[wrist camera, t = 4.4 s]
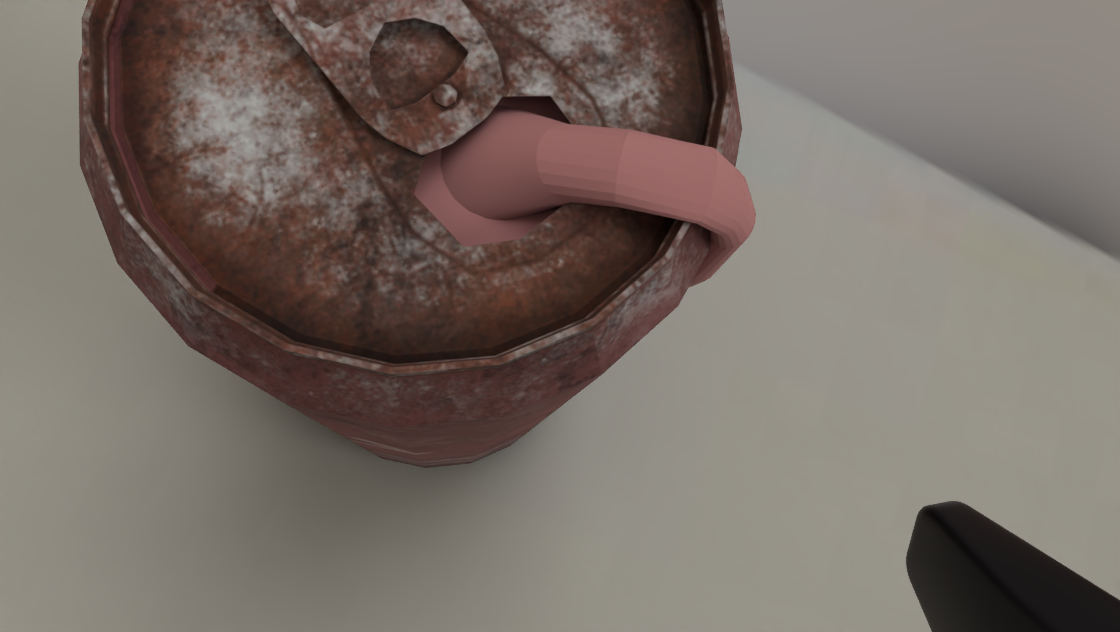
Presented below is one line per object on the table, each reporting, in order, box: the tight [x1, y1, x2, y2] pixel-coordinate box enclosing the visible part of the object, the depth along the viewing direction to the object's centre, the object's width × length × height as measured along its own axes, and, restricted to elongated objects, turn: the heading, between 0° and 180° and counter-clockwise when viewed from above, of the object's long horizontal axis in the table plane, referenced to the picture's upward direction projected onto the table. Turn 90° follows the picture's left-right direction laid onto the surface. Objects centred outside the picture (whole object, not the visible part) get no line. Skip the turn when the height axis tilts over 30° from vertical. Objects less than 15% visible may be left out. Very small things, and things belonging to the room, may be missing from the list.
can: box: [79, 0, 756, 468], centre depth 15 cm, size 6×6×14 cm
